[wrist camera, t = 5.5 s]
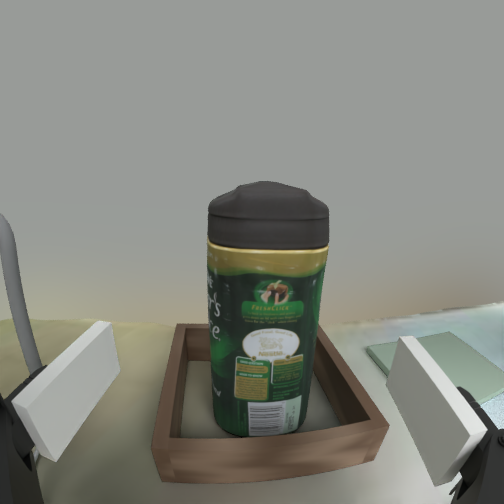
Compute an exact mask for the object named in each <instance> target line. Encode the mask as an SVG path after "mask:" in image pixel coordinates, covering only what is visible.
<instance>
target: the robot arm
mask: <svg viewBox="0 0 504 504" xmlns="http://www.w3.org/2000/svg"><path fill="white" fill-rule="evenodd" d="M120 371H121V370H120V366H119V361H118V356H117V351H116V346H115V341H114V335H113V330H112V324H111V322H104V321H97V322H96V323H95V324H93V325H92V326H91V327H90V328H89V329H88V330H87V331H85V332H84V333H83V334H82V335H81V336H80V337H79V338H78V339H77V340H75V341H74V342H73V343H72V344H71V345H70V346H69V347H68V348H67V349H66V350H64V351H63V352H62V353H61V354H60V355H59V356H58V357H57V358H56V359H55V360H54V361H53V362H51V363H50V364H49V365H48V366H47V365H45V366H43V367H41V368H39V369H37V370H35V371H34V372H33V373H32V374H31V375H30V376H29V378H27V379H26V380H25V381H23V383H21V384H20V385H19V386H18V387H17V388H16V389H15V390H14V391H13V392H12V393H11V394H10V395H9V396H8V397H7V398H6V399H5V400H3V398H2V396H1V394H0V504H44V502H43V498H42V494H41V490H40V485H39V481H38V476H37V471H36V465H35V459H34V455H33V452H32V451H31V449H32V448H33V447H34V446H36V448H37V450H38V451H39V453H40V454H41V455H42V456H44V457H46V458H48V459H50V460H52V461H54V462H57V460H58V459H59V457H60V456H61V454H62V453H63V451H64V450H65V448H66V447H67V446H68V444H69V443H70V441H71V440H72V438H73V437H74V435H75V434H76V432H77V431H78V430H79V428H80V427H81V425H82V424H83V422H84V421H85V420H86V418H87V417H88V415H89V414H90V413H91V411H92V410H93V408H94V407H95V405H96V404H97V403H98V401H99V400H100V398H101V397H102V396H103V394H104V393H105V392H106V390H107V389H108V387H109V386H110V385H111V383H112V382H113V381H114V379H115V378H116V376H117V375H118V374H119V372H120ZM386 386H387V388H388V390H389V392H390V394H391V396H392V398H393V400H394V402H395V404H396V406H397V408H398V410H399V412H400V414H401V416H402V418H403V420H404V422H405V424H406V426H407V428H408V430H409V432H410V434H411V436H412V438H413V440H414V442H415V445H416V447H417V449H418V451H419V453H420V455H421V457H422V460H423V462H424V464H425V466H426V468H427V471H428V473H429V475H430V477H431V479H432V482H433V484H434V486H435V487H436V486H439V485H442V484H445V483H448V482H450V481H452V480H453V479H454V477H455V476H456V475H457V473H458V472H460V473H461V475H462V478H461V479H460V481H459V482H458V483H457V484H456V485H455V487H454V488H453V489H452V490H451V492H450V493H449V495H452V493H453V492H454V491H455V490H456V491H455V494H454V496H453V499H452V502H451V504H504V429H499V430H498V428H497V427H496V426H495V424H494V423H493V422H492V420H491V419H490V418H489V416H488V415H487V414H486V413H485V411H484V410H483V409H482V408H480V407H481V406H480V405H479V404H478V402H476V400H475V399H474V397H473V396H472V395H471V394H470V392H468V391H467V390H465V389H464V388H462V387H461V386H459V387H455V386H454V384H453V383H452V382H451V381H450V379H449V378H448V377H447V376H446V374H445V373H444V372H443V371H442V369H441V368H440V367H439V366H438V364H437V363H436V362H435V361H434V360H433V358H432V357H431V356H430V355H429V354H428V352H427V351H426V350H425V349H424V348H423V346H422V345H421V344H420V343H419V342H418V340H417V339H416V338H415V337H414V336H399V340H398V344H397V348H396V351H395V355H394V359H393V362H392V366H391V369H390V372H389V376H388V379H387V382H386Z"/></svg>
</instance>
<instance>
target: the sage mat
mask: <svg viewBox="0 0 504 504" xmlns="http://www.w3.org/2000/svg"><path fill="white" fill-rule="evenodd" d="M416 339H417V340H418V342H419V343H420V344H421V345H422V346H423V348H424V349H425V350H426V351H427V352H428V354H429V355H430V356H431V357H432V358H433V360H434V361H435V362H436V363H437V364H438V366H439V367H440V368H441V369H442V371H443V372H444V373H445V374H446V376H447V377H448V378H449V379H450V381H451V382H452V383H453V384H454V386H455V387H459V386H461V387H462V388H464V389H465V390H467V391H468V392H470V394H471V395H472V396H473V397H474V399H475V400H476V402H478V404H479V405H480V404H482V403H484V402H486V401H488V400H490V399H492V398H494V397H496V396H497V395H499V394H501V393H503V392H504V372H503V371H502V370H501V369H500V368H498V367H497V366H496V365H494V364H493V363H492V362H490V361H489V360H488V359H486V358H485V357H484V356H482V355H481V354H480V353H478V352H477V351H476V350H474V349H473V348H472V347H470V346H469V345H467V344H466V343H465V342H463V341H462V340H461V339H459V338H458V337H456V336H455V335H454V334H452V333H451V332H445V333H441V334H436V335H431V336H426V337H421V338H416ZM397 344H398V342H392V343H386V344H379V345H372V346H368V348H367V353H368V354H369V355H370V356H371V358H372V359H373V360H374V361H375V362H376V363H377V365H378V366H379V367H380V368H381V369H382V370H383V372H384V373H385V374H386V375H387V376H389V372H390V369H391V366H392V362H393V359H394V355H395V351H396V348H397Z"/></svg>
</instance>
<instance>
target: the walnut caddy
mask: <svg viewBox="0 0 504 504" xmlns="http://www.w3.org/2000/svg"><path fill="white" fill-rule="evenodd" d="M188 360H199V361H211V356H210V339H209V324H177V326H176V329H175V334H174V338H173V342H172V346H171V351H170V355H169V360H168V364H167V369H166V373H165V378H164V383H163V387H162V392H161V397H160V402H159V407H158V412H157V417H156V423H155V428H154V433H153V439H152V445H151V450H152V453H153V456H154V459H155V462H156V465H157V468H158V471H159V474H160V477H161V480H162V481H163V482H177V483H243V482H258V481H269V480H278V479H286V478H293V477H300V476H306V475H312V474H318V473H323V472H328V471H333V470H337V469H342V468H346V467H350V466H354V465H358V464H362V463H366V462H369V461H373V460H374V458H375V456H376V454H377V452H378V450H379V448H380V446H381V444H382V442H383V439H384V437H385V435H386V433H387V430H388V428H389V426H390V425H389V424H388V422H387V421H386V419H385V418H384V417H383V415H382V414H381V412H380V411H379V409H378V408H377V406H376V405H375V404H374V402H373V401H372V399H371V398H370V396H369V395H368V394H367V392H366V391H365V389H364V388H363V386H362V385H361V384H360V382H359V381H358V379H357V378H356V376H355V375H354V374H353V372H352V371H351V369H350V368H349V366H348V365H347V364H346V362H345V361H344V359H343V358H342V356H341V355H340V354H339V352H338V351H337V349H336V348H335V347H334V345H333V344H332V342H331V341H330V340H329V338H328V337H327V335H326V334H325V332H324V331H323V330H322V328H321V327H320V325H319V324H318V330H317V338H316V347H315V354H314V362H313V371H314V373H315V375H316V376H317V378H318V380H319V382H320V384H321V386H322V388H323V390H324V392H325V394H326V396H327V398H328V400H329V402H330V403H331V405H332V407H333V409H334V411H335V413H336V415H337V417H338V419H339V421H340V423H341V425H342V426H339V427H333V428H328V429H322V430H315V431H309V432H302V433H294V434H285V435H275V436H264V437H249V438H225V439H191V438H180V431H181V420H182V410H183V400H184V390H185V381H186V373H187V364H188Z"/></svg>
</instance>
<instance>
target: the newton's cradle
mask: <svg viewBox="0 0 504 504" xmlns="http://www.w3.org/2000/svg"><path fill="white" fill-rule="evenodd" d="M0 253H1V260H2V268H3V274H4V279H5V285H6V290H7V295H8V300H9V304H10V308H11V313H12V316H13V321H14V325H15V328H16V332H17V335H18V339H19V342H20V346H21V349H22V352H23V355H24V358H25V361H26V364H27V367H28V369H29V372H30V375H31V374H32V373H33V372H34V371H35V370H37V369H39V368H41V367H43V366H42V363H41V360H40V357H39V354H38V350H37V347H36V344H35V340H34V337H33V333H32V329H31V325H30V321H29V317H28V313H27V309H26V304H25V299H24V294H23V289H22V284H21V278H20V272H19V265H18V258H17V251H16V243H15V239H14V234H13V232H12V229H11V227H10V225H9V223H8V222H7V220H6V219H5V218H4V216H3V215H1V214H0ZM33 455H34V459H35V462H36V460H37V458H38V456H39V451H38V450H37V448H36V450H35V452H34V454H33Z"/></svg>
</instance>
